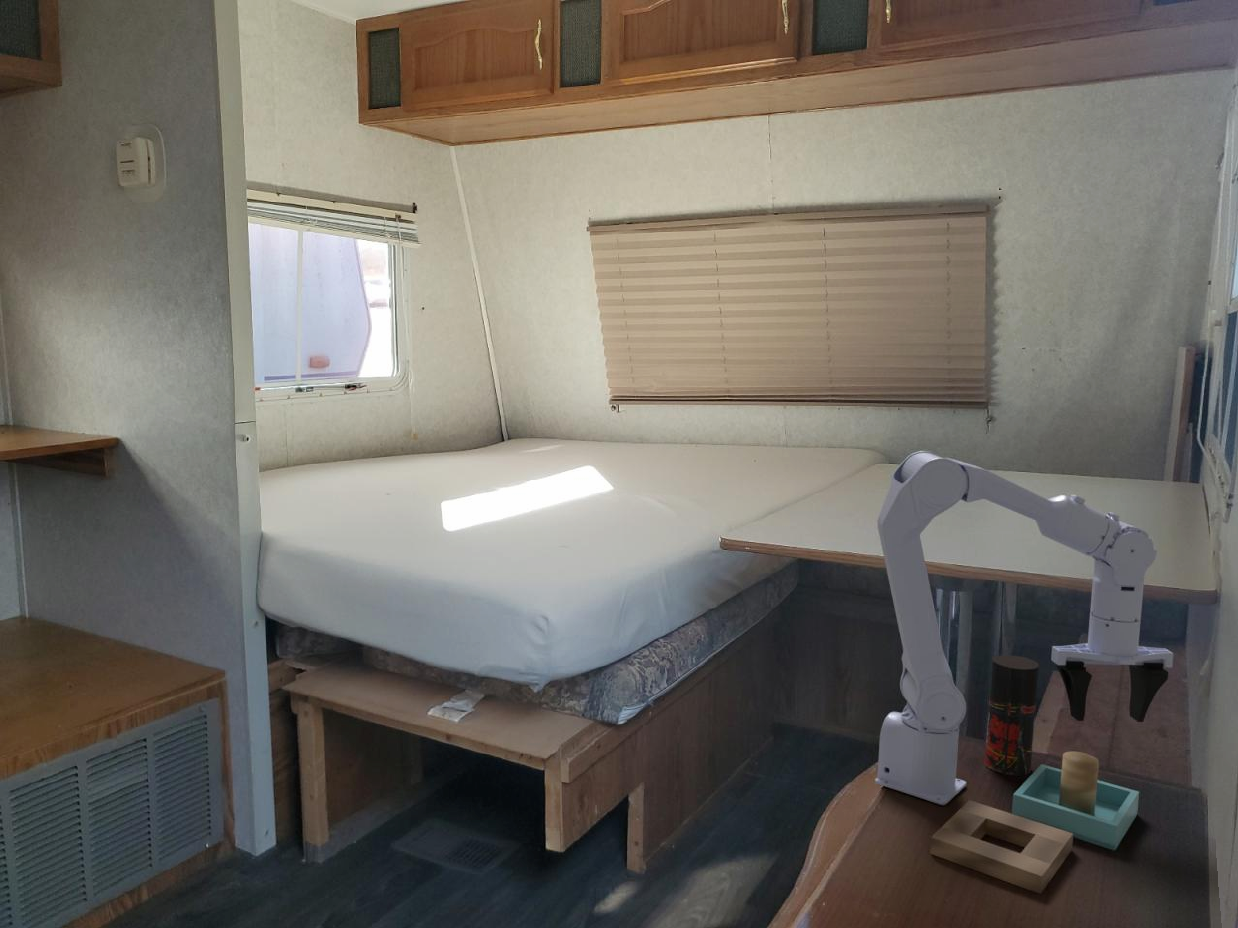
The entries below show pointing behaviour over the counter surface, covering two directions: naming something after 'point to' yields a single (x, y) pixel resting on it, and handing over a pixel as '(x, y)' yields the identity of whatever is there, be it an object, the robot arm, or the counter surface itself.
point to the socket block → (1020, 869)
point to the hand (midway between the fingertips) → (1106, 718)
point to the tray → (1101, 829)
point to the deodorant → (1011, 715)
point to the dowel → (1079, 782)
